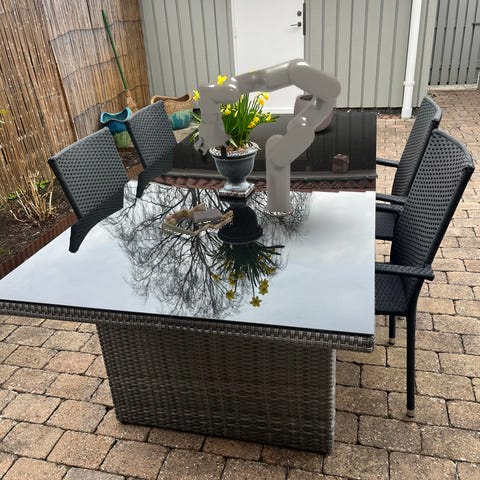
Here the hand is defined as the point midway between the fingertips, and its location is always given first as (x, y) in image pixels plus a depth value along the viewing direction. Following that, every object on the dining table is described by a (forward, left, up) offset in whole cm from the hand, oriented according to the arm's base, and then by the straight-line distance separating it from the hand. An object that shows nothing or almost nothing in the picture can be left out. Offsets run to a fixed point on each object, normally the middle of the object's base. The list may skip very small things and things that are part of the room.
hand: (214, 160), depth 188 cm
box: (-70, +21, -23) cm, 76 cm away
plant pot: (-124, -25, -23) cm, 128 cm away
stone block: (+7, 0, -24) cm, 25 cm away
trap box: (+12, 0, -23) cm, 26 cm away
